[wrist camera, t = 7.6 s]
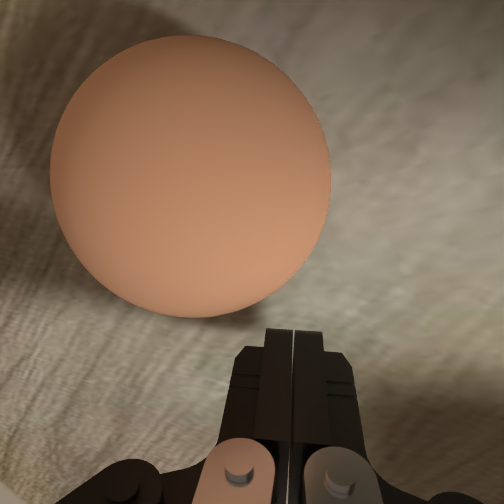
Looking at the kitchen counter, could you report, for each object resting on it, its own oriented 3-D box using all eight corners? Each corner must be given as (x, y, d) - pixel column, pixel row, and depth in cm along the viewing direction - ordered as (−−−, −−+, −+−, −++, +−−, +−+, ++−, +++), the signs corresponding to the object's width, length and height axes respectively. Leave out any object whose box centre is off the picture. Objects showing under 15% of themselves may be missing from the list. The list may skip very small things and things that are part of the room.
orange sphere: (271, 416, 7) (346, 243, 11) (265, 113, 4) (376, 14, 8) (43, 328, 9) (175, 205, 13) (-90, 70, 6) (139, 6, 10)
